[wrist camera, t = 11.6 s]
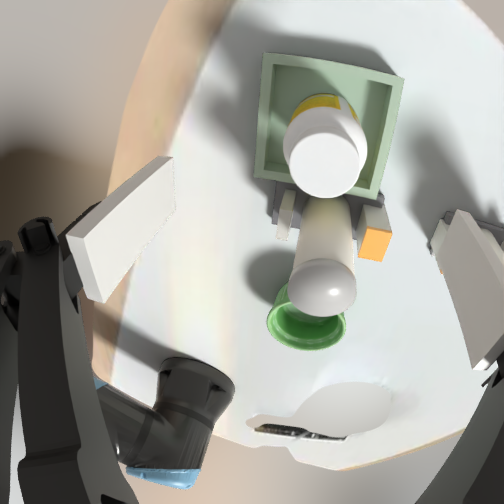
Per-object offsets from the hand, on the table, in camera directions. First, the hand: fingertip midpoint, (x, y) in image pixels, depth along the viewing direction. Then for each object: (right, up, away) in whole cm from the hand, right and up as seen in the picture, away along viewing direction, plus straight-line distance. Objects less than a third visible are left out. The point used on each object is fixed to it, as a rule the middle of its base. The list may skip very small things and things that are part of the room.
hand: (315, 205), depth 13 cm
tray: (+3, +9, +11) cm, 14 cm away
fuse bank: (+13, +1, +15) cm, 19 cm away
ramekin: (+4, -8, +24) cm, 26 cm away
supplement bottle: (+3, +9, +11) cm, 14 cm away
